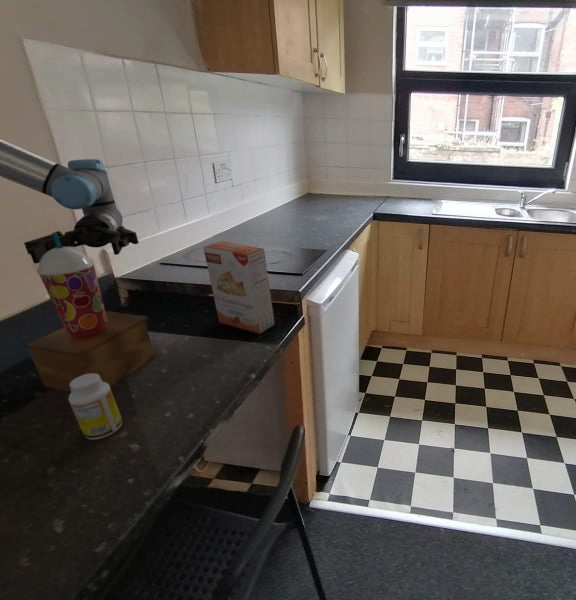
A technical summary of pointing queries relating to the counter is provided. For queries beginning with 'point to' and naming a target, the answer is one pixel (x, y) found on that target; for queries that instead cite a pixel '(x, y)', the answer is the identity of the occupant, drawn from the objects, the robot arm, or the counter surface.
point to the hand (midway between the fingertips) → (75, 252)
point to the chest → (96, 360)
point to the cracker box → (240, 286)
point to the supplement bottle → (94, 406)
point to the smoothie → (73, 289)
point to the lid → (82, 345)
